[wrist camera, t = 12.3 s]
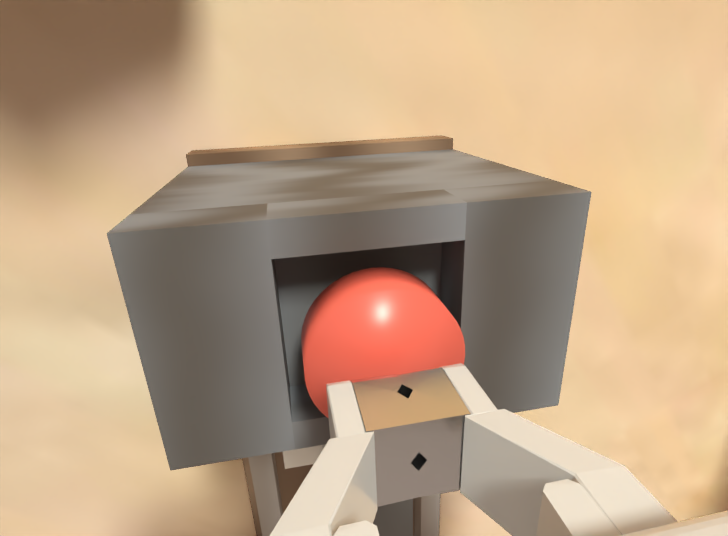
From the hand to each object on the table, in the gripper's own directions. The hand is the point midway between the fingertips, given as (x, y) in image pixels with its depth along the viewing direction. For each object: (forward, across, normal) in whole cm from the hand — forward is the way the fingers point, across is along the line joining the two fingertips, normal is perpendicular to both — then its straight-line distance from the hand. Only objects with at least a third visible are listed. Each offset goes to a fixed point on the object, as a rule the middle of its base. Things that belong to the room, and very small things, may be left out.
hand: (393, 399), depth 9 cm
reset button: (+3, 0, 0) cm, 3 cm away
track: (+14, 0, +12) cm, 18 cm away
